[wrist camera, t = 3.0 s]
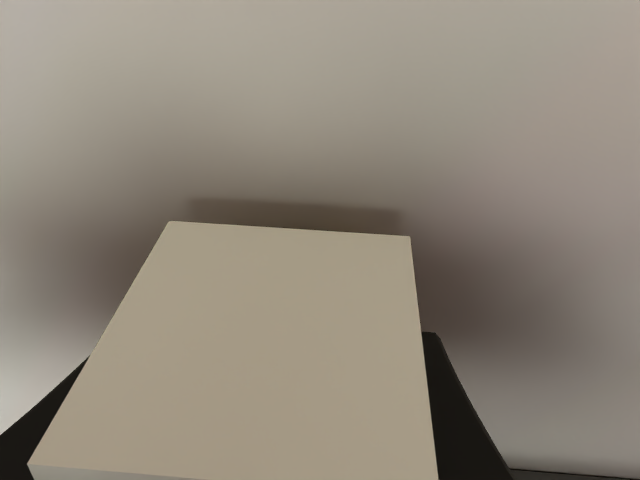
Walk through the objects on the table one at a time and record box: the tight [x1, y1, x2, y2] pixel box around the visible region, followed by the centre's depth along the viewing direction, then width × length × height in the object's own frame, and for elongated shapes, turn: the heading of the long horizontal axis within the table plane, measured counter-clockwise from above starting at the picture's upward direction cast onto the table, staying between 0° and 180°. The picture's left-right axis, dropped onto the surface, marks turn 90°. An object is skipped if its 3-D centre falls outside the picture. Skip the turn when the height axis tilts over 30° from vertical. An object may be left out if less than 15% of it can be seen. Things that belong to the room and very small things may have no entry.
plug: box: [27, 221, 438, 480], centre depth 9 cm, size 4×5×6 cm
